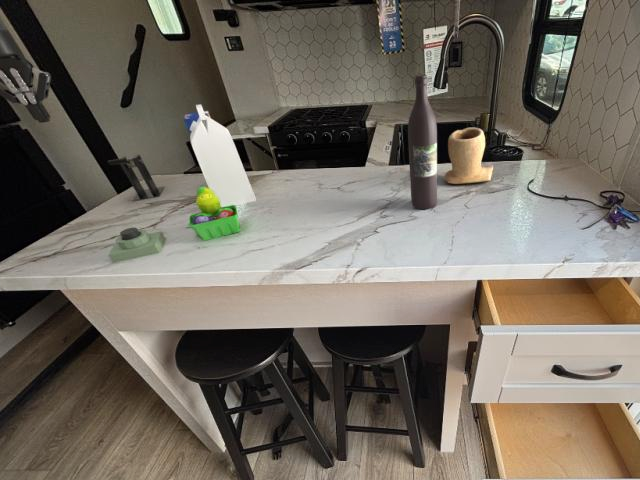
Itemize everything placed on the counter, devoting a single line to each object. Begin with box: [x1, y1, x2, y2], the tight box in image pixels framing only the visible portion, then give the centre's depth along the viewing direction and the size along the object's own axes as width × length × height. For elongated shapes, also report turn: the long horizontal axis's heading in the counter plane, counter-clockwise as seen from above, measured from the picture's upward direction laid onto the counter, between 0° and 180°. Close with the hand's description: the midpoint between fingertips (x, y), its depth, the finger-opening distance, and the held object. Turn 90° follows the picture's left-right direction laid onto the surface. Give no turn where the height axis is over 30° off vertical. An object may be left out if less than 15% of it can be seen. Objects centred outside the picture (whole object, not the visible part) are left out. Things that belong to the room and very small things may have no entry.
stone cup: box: [444, 127, 494, 185], centre depth 100 cm, size 15×12×15 cm
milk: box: [189, 104, 258, 207], centre depth 99 cm, size 12×12×26 cm
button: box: [119, 227, 141, 240], centre depth 81 cm, size 4×4×2 cm
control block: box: [107, 229, 166, 263], centre depth 83 cm, size 10×8×4 cm
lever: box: [107, 157, 137, 169], centre depth 103 cm, size 12×4×2 cm, turn 19°
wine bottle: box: [407, 74, 438, 210], centre depth 84 cm, size 7×7×30 cm
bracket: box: [119, 154, 165, 202], centre depth 110 cm, size 10×8×13 cm
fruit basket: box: [188, 185, 241, 242], centre depth 85 cm, size 11×9×11 cm
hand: (44, 121), depth 81 cm, fingers closed
